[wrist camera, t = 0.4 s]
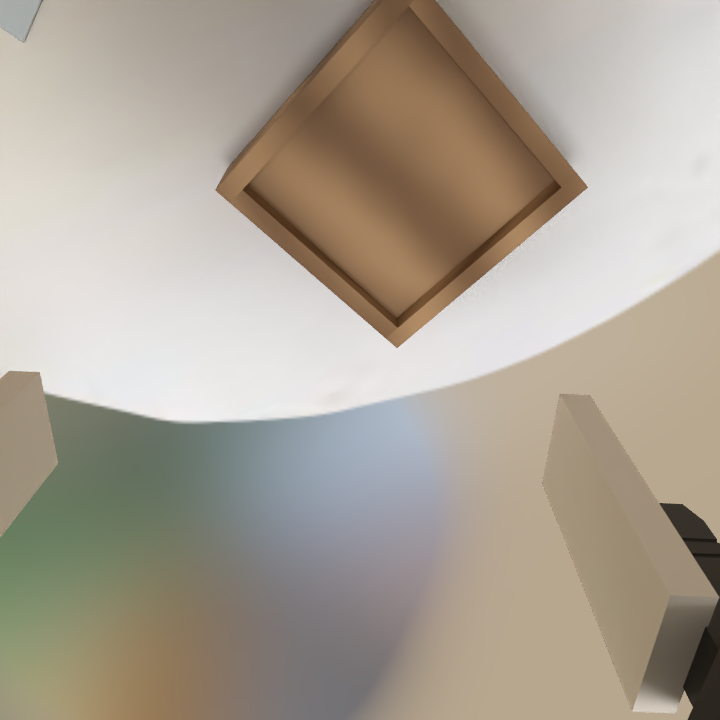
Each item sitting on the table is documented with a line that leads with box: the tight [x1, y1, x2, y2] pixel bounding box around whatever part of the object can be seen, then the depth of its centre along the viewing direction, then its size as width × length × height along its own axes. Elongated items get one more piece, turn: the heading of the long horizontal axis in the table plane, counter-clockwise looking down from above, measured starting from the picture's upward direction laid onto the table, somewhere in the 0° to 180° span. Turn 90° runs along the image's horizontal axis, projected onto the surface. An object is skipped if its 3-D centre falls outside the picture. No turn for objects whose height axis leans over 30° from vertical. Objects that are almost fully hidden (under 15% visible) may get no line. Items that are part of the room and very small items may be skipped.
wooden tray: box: [216, 0, 588, 348], centre depth 36 cm, size 14×14×4 cm
